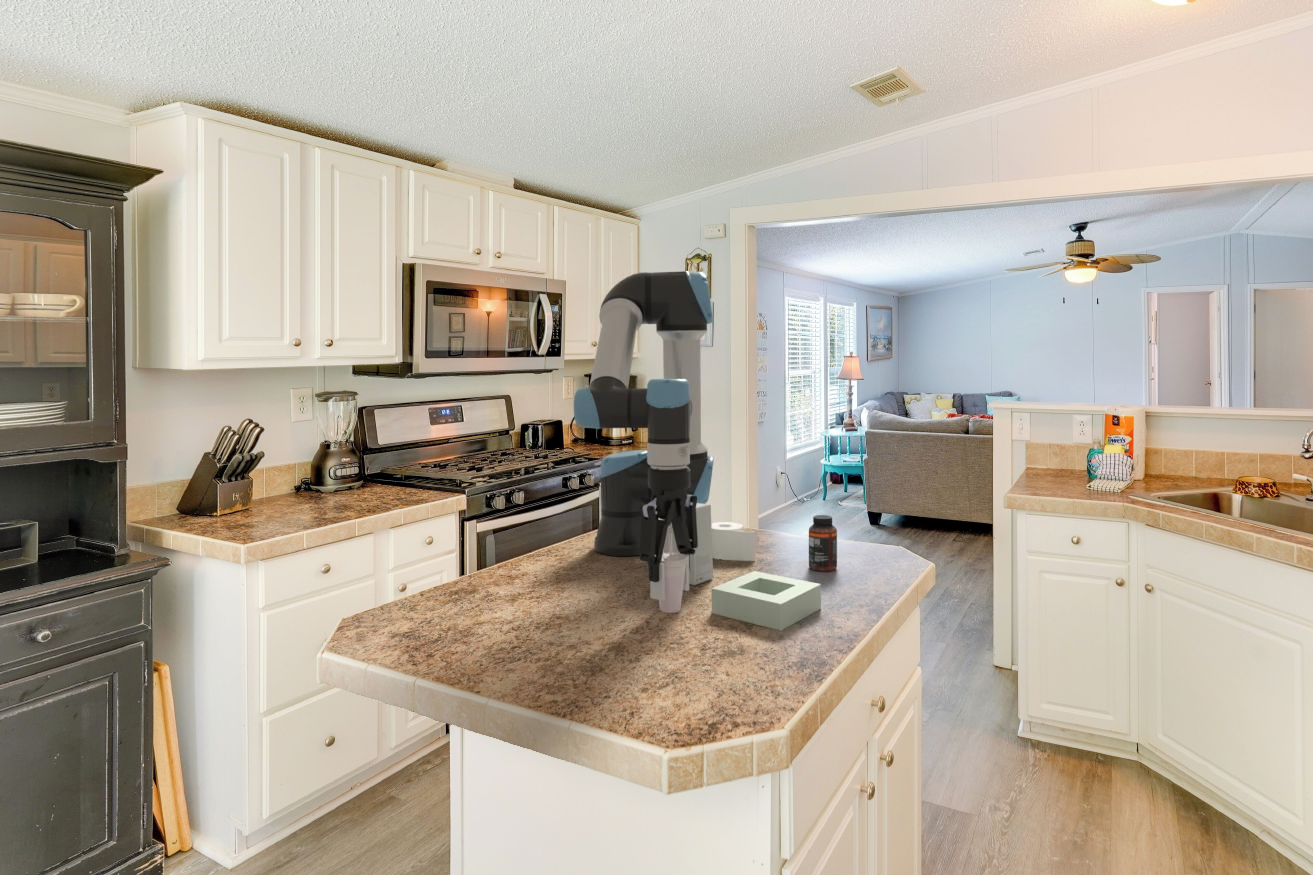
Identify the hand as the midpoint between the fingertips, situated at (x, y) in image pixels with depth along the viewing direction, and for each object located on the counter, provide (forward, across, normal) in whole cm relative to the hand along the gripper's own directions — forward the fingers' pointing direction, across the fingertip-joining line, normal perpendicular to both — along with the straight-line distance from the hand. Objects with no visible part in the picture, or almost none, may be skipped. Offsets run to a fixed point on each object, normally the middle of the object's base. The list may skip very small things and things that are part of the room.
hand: (670, 593), depth 133 cm
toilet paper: (+3, +37, +12) cm, 39 cm away
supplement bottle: (+3, +41, -9) cm, 42 cm away
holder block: (+3, +10, -14) cm, 17 cm away
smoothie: (+3, 0, 0) cm, 3 cm away
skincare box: (+3, +17, +9) cm, 20 cm away
